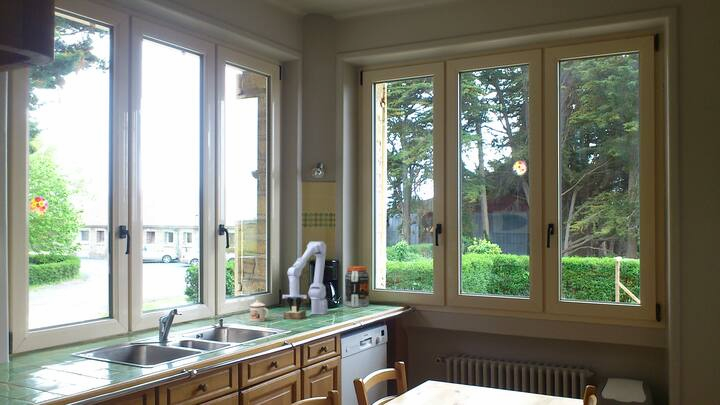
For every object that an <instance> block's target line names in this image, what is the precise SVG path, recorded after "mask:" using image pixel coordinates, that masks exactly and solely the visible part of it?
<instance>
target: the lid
mask: <svg viewBox="0 0 720 405" xmlns="http://www.w3.org/2000/svg"><path fill="white" fill-rule="evenodd" d="M296 308H297V305H293V306H292V311H289V310H288V312H287V311H285V312H286V313H300V312H303V311H304V310H302V311H297V310H296Z"/></svg>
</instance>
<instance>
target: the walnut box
mask: <svg viewBox="0 0 720 405" xmlns="http://www.w3.org/2000/svg"><path fill="white" fill-rule="evenodd" d="M288 311H291V309H289V310H288ZM288 311H284V312H283V314H284V317H283V320H302V319H305V318H306V317H307V311H306V310H300V309H299V311H303V312H300V313H286V312H288Z"/></svg>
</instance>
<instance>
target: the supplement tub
mask: <svg viewBox="0 0 720 405" xmlns="http://www.w3.org/2000/svg"><path fill="white" fill-rule="evenodd" d="M346 271H347V272H346V273H345V275H344V284H345V285H344V286H345V288H344V290H345V291H344V292H345V294H344V295H345V298H344V299H345V303H344V304H345V305H346V306H347V307H348V308H349V307H351V308H359V307H360V308H361V307H362V308H363V307H368V306H369V305H370V286H369V285H370V281H369V280H370V277H369V273H368V272H367V266H364V265H363V266H361V265H358V266H347V270H346Z"/></svg>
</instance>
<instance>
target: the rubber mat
mask: <svg viewBox="0 0 720 405" xmlns="http://www.w3.org/2000/svg"><path fill="white" fill-rule="evenodd" d="M268 317H269V318H284V313H283V314H279V313H277V314H276V313H275V314H273V315H272V314H271V315H268Z"/></svg>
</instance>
